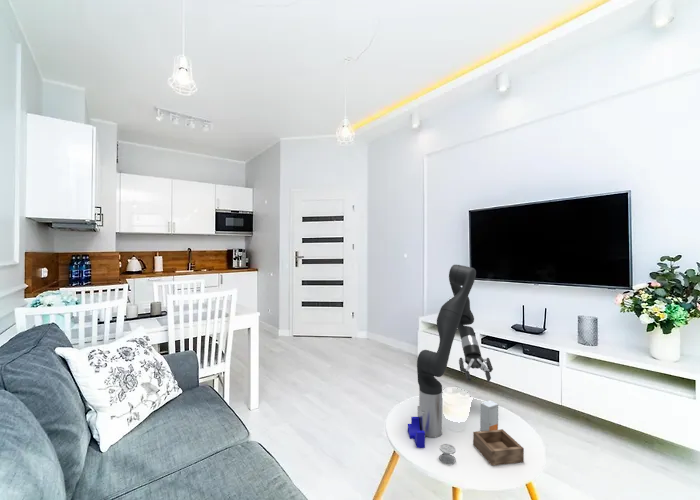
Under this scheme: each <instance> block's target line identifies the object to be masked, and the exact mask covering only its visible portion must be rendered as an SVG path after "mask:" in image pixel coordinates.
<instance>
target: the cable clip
mask: <svg viewBox="0 0 700 500" xmlns="http://www.w3.org/2000/svg"><path fill="white" fill-rule="evenodd" d="M410 417H411V418H410V419H411V420H410V421H411V423H407V432H408V436H409V439H410V440H414V443H415V445H416V448H417V449H425V448H426V436H425V432H424V431H420V424H419V417H418V416H410Z"/></svg>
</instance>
